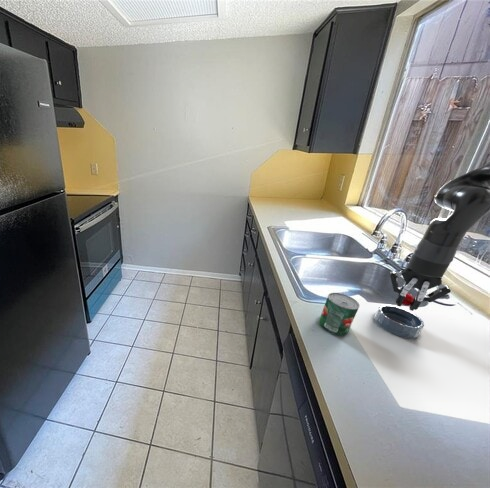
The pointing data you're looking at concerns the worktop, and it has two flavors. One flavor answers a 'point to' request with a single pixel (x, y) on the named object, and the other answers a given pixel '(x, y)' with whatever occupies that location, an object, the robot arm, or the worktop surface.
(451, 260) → the robot arm
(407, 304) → the strawberry
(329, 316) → the canned tomato
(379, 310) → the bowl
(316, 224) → the worktop surface
